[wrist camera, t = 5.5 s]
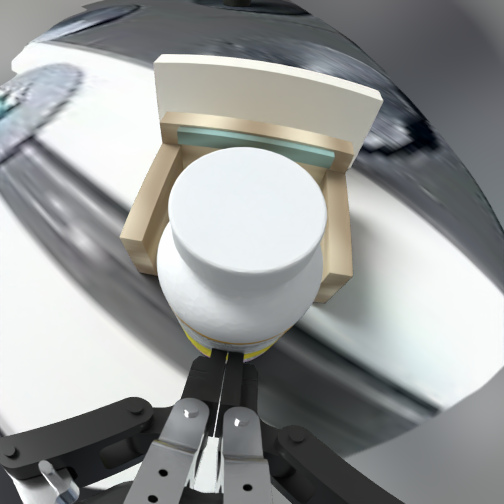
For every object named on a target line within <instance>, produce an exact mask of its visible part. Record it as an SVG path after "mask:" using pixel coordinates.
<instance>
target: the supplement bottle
mask: <svg viewBox="0 0 504 504" xmlns="http://www.w3.org/2000/svg"><path fill="white" fill-rule="evenodd" d="M168 213H169V220H170V221H169V223H168V224H167V226H166V228H165V230H164V232H163V234H162V237H161V239H160V243H159V246H158V253H157V272H158V277H159V282H160V285H161V288H162V291H163V293H164V295H165V297H166V299H167V301H168V303H169V305H170V307H171V308H172V310H173V312H174V314H175V315H176V317H177V319H178V321H179V323H180V325H181V326H182V328H183V330H184V332H185V333H186V335H187V337H188V338H189V340H190V341H191V343H192V344H193V345H194V346H195V347H196V348H197V349H198V350H199V351H200V352H201V353H202V354H204V355H205V356H207V357H209V358H210V355H211V351H212V348H215V349H219V350H224V351H227V357H226V363H227V359H228V354H229V351H231V352H240V353H244V361H243V362H247V361H250V360H252V359H255V358H256V357H258V356H260V355H261V354H263V353H264V352H265V351H267V350H268V349H269V348H270V347H271V346H272V345H273V344H274V343H275V342H276V341H277V340H278V339H279V338H280V337H281V336H282V335H283V334H284V333H286V332H287V331H288V330H289V329H290V328H291V327H292V326H293V325H294V324H295V323H296V322H297V321H298V320H299V319H300V318H301V317H302V316H303V315H304V314H305V313H306V311H307V310H308V309H309V307H310V306H311V305H312V303H313V301H314V299H315V297H316V295H317V293H318V290H319V288H320V284H321V280H322V274H323V255H322V250H321V246H320V242H321V240H322V238H323V235H324V233H325V228H326V223H327V207H326V202H325V199H324V196H323V194H322V192H321V190H320V187H319V186H318V184H317V183H316V181H315V180H314V179H313V178H312V176H311V175H310V174H309V173H308V172H307V171H306V170H305V169H303V168H302V167H301V166H299V165H298V164H297V163H295V162H293V161H292V160H290V159H288V158H286V157H284V156H282V155H280V154H277V153H274V152H271V151H267V150H264V149H258V148H251V147H234V148H227V149H222V150H218V151H215V152H212V153H209V154H207V155H204V156H202V157H200V158H199V159H197V160H196V161H194V162H193V163H191V164H190V165H189V166H188V167H187V168H186V169H185V170H184V171H183V172H182V173H181V174H180V175H179V177H178V178H177V180H176V181H175V184H174V186H173V187H172V190H171V193H170V197H169V203H168Z"/></svg>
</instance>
